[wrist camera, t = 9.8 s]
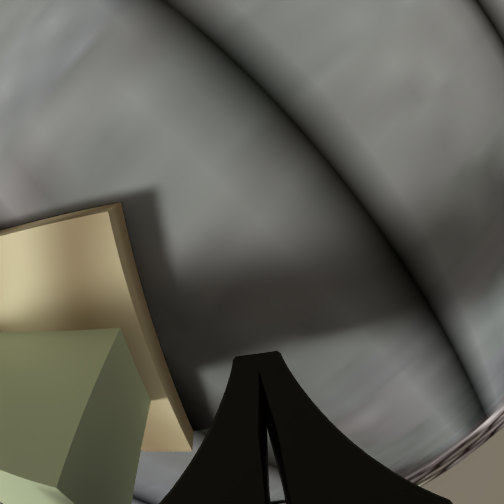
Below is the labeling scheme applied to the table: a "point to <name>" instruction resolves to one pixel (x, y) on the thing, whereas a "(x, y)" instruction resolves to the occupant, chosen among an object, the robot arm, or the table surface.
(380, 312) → the table surface
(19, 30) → the table surface
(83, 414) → the block
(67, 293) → the board
